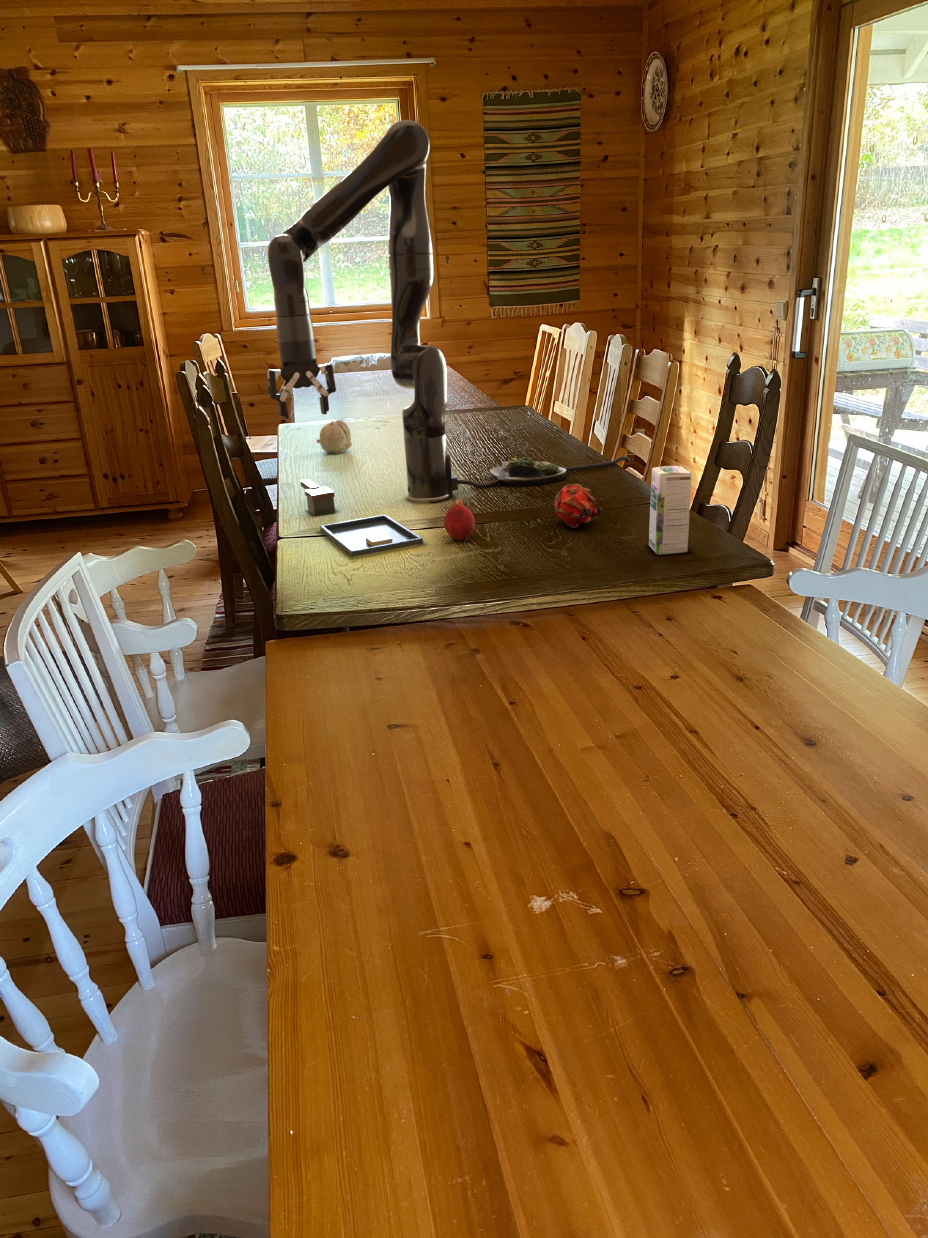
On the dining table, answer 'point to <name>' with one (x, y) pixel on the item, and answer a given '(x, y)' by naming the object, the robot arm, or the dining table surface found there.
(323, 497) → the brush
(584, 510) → the dragon fruit
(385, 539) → the tan flat square block
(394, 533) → the tray
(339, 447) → the garlic bulb
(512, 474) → the salad plate
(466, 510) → the onion
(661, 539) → the syrup box
